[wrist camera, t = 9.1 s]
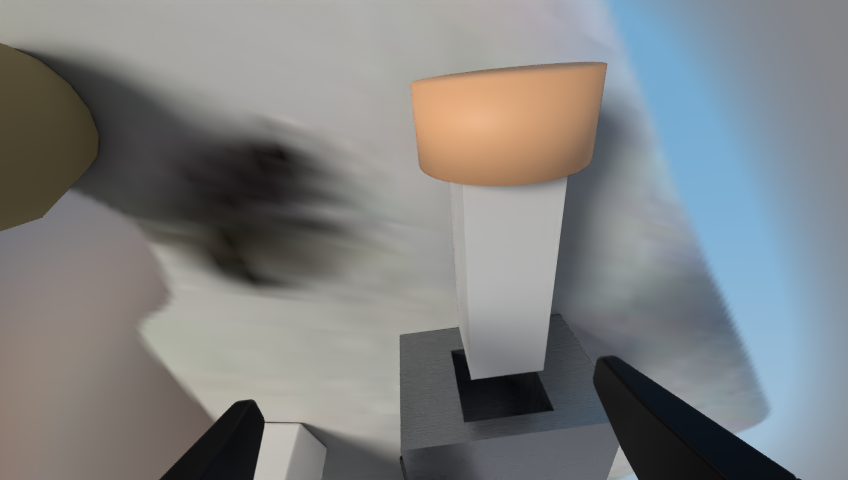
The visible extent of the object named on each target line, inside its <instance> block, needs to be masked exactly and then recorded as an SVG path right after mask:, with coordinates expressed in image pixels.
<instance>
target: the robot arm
mask: <svg viewBox="0 0 848 480" xmlns="http://www.w3.org/2000/svg"><path fill="white" fill-rule="evenodd" d="M593 384H594V387H595V389H596V392H597V394H598V396H599V399H600V401H601V403H602V405H603V408H604V410H605V412H606V415H607V417H608V419H609V422H610V424H611V426H612V428H613V431H614V433H615V435H616V438H617V440H618V442H619V444H620V446H621V448H622V450H623V452H624V454H625V456H626V458H627V460H628V461H629V463H630V465H631V467H632V469H633V471H634V472H635V474H636V476H637V478H638V480H801V479H799V478H796V477H795V475H794V474H792V473H791V472H789V471H788V470H786V469H785V468H783V467H782V466H780V465H779V464H777V463H776V462H774V461H772V460H771V459H770V458H768V457H767V456H765V455H763V454H762V453H761V452H759V451H758V450H756V449H755V448H753V447H752V446H750V445H749V444H747V443H746V442H744V441H743V440H741V439H740V438H738V437H737V436H735V435H734V434H732V433H731V432H729V431H728V430H726V429H725V428H723V427H722V426H720V425H719V424H717V423H716V422H714V421H713V420H711V419H710V418H708V417H707V416H705V415H704V414H702V413H701V412H699V411H698V410H696V409H695V408H693V407H692V406H690V405H689V404H687V403H686V402H684V401H683V400H681V399H680V398H678V397H677V396H675V395H674V394H672V393H671V392H669V391H668V390H666V389H665V388H663V387H662V386H660V385H659V384H657V383H656V382H654V381H653V380H651V379H650V378H648V377H647V376H645V375H644V374H642V373H641V372H639V371H638V370H636V369H635V368H633V367H632V366H630V365H629V364H627V363H626V362H624V361H623V360H621V359H620V358H618V357H616V356H613V355H610V356H602V357H599V358H598V359H597V361H596V366H595V370H594V374H593ZM264 427H265V421H264V417H263V415H262V413H261V411H260V409H259V407H258V406H257V404H256V402H255V401H254V400H252V399H250V400H241V401H237V402H235V403H234V404H233V405H232V406H231V407H230V408H229V409H228V410H227V411H226V412H225V413H224V414H223V415H222V416H221V417H220V418H219V419H218V420H217V421H216V422H215V423H214V424H213V425H212V426H211V427H210V428H209V429H208V430H207V431H206V432H205V433H204V434H203V436H201V437H200V438H199V439H198V440H197V442H195V443H194V445H193V446H192V447H191V448H190V449H189V450H188V451H187V452H186V453H185V454H184V455H183V456H182V457H181V458H180V459H179V460H178V461H177V462H176V463H175V464H174V465H173V466H172V467H171V468H170V469H169V470H168V471H167V472H166V473H165V474H164V475H163V476H162V477H161V478H160V479H159V480H254V475H255V470H256V466H257V461H258V456H259V451H260V447H261V442H262V437H263V432H264ZM400 464H401V468H402V471H403V475H404V479H405V480H408V477H407V473H406V469H405V465H404V461H403V457H402V456H401V457H400Z"/></svg>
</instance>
